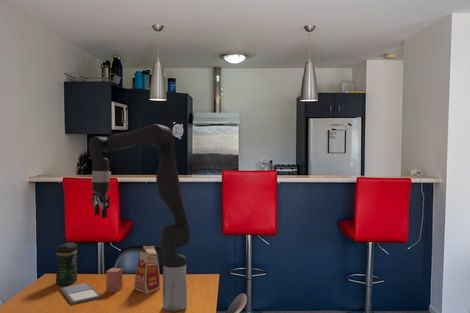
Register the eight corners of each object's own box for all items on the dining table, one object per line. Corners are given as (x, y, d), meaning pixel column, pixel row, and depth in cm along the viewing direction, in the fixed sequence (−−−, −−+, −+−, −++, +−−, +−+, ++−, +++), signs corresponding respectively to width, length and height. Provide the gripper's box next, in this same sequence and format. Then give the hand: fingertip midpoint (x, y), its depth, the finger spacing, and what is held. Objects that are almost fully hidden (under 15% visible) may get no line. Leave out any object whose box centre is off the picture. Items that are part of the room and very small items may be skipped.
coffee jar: (69, 286, 184) (69, 246, 184) (53, 285, 185) (53, 245, 185) (80, 279, 194) (79, 241, 194) (64, 278, 195) (64, 240, 195)
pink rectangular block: (122, 288, 182) (122, 268, 182) (116, 292, 178) (116, 272, 177) (112, 287, 184) (112, 267, 183) (106, 291, 179) (106, 271, 179)
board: (101, 298, 170) (101, 295, 170) (71, 304, 163) (71, 301, 163) (87, 285, 186) (87, 282, 186) (60, 290, 179) (60, 287, 179)
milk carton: (146, 293, 176) (146, 248, 176) (133, 289, 182) (133, 245, 181) (162, 287, 183) (162, 244, 183) (148, 283, 189) (148, 241, 189)
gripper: (115, 181, 179) (115, 217, 180) (102, 179, 190) (102, 213, 191) (98, 182, 174) (98, 219, 175) (86, 180, 185) (86, 215, 186)
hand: (100, 216), depth 183 cm, fingers open, 8 cm apart
